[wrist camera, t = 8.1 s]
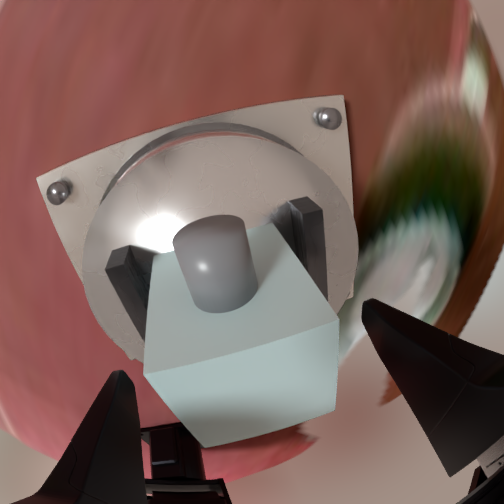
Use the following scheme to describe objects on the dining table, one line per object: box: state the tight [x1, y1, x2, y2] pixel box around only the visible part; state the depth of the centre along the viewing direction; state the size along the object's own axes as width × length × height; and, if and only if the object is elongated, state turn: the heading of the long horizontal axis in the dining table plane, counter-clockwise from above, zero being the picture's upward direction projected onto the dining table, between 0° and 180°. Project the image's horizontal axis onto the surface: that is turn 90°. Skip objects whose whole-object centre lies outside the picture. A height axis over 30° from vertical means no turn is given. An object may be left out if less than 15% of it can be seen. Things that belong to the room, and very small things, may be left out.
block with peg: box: [143, 215, 339, 448], centre depth 10 cm, size 7×5×6 cm
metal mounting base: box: [36, 95, 359, 363], centre depth 15 cm, size 14×17×6 cm
